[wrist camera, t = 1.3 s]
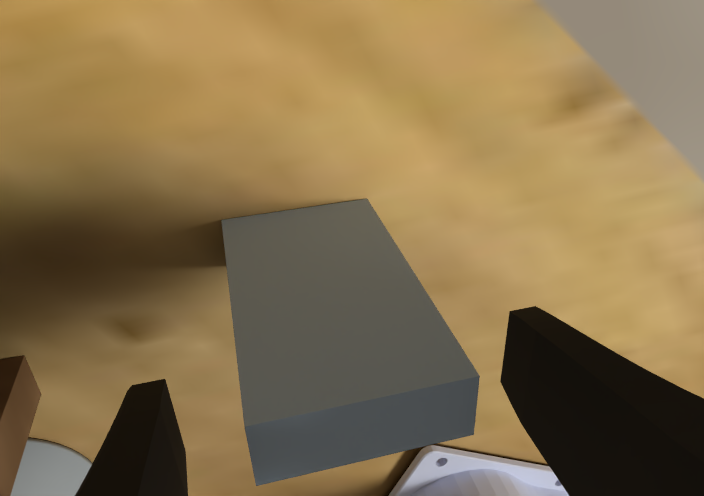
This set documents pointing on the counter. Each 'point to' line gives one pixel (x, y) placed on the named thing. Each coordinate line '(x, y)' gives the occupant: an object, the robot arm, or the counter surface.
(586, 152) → the counter surface
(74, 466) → the disc
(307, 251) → the domino head
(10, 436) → the domino
